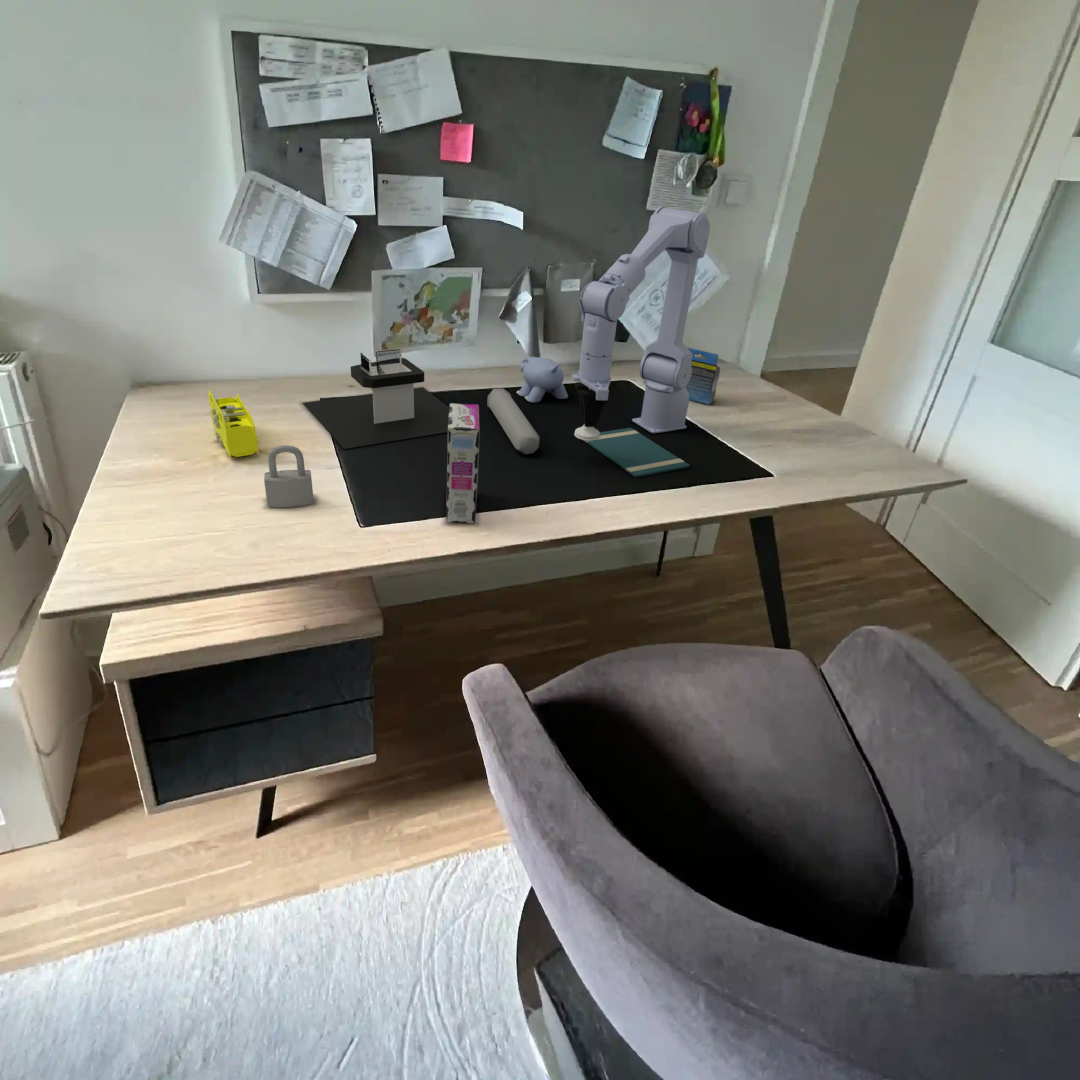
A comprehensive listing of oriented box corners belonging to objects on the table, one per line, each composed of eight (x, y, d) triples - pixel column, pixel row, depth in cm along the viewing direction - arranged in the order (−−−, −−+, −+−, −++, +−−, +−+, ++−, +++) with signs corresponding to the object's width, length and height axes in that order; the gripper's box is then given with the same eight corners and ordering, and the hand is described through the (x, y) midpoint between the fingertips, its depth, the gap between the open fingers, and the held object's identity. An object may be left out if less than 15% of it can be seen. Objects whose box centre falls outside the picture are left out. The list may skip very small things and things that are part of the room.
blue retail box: (714, 401, 176) (724, 351, 170) (708, 405, 173) (719, 354, 167) (680, 392, 180) (689, 343, 174) (674, 396, 177) (683, 346, 171)
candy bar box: (477, 525, 116) (480, 429, 108) (445, 524, 116) (446, 428, 107) (476, 493, 126) (479, 403, 117) (447, 492, 125) (448, 401, 117)
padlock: (313, 494, 121) (307, 439, 116) (314, 506, 118) (308, 449, 113) (268, 498, 119) (260, 441, 114) (267, 509, 116) (259, 452, 110)
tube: (547, 437, 139) (514, 391, 159) (523, 430, 137) (491, 385, 157) (537, 462, 141) (505, 413, 161) (512, 455, 139) (483, 407, 159)
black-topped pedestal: (422, 387, 169) (421, 330, 162) (475, 427, 151) (477, 365, 144) (302, 403, 156) (295, 341, 149) (344, 449, 137) (339, 381, 130)
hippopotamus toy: (543, 381, 180) (546, 343, 175) (575, 401, 169) (579, 361, 164) (504, 385, 175) (506, 346, 170) (535, 407, 164) (537, 365, 159)
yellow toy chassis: (211, 429, 141) (204, 387, 136) (242, 425, 143) (236, 384, 139) (227, 462, 129) (220, 417, 125) (260, 457, 132) (255, 413, 127)
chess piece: (582, 442, 135) (588, 391, 130) (569, 432, 139) (574, 381, 134) (604, 438, 138) (611, 388, 132) (591, 428, 141) (597, 379, 136)
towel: (630, 429, 156) (630, 427, 156) (689, 467, 142) (689, 464, 141) (579, 437, 150) (579, 435, 150) (635, 477, 136) (635, 475, 136)
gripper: (567, 340, 136) (561, 409, 142) (583, 364, 123) (575, 438, 130) (604, 341, 137) (595, 409, 144) (623, 365, 125) (613, 439, 132)
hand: (588, 423), depth 137 cm, fingers closed on chess piece
